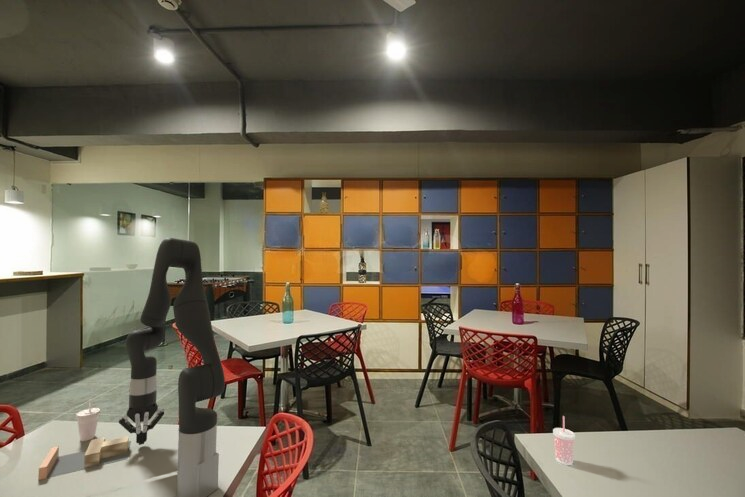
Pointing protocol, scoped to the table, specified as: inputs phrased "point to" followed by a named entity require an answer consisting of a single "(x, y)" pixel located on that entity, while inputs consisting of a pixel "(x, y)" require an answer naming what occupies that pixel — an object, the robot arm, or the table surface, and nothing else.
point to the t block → (104, 449)
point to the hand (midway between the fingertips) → (141, 443)
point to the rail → (48, 463)
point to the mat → (80, 462)
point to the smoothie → (87, 422)
